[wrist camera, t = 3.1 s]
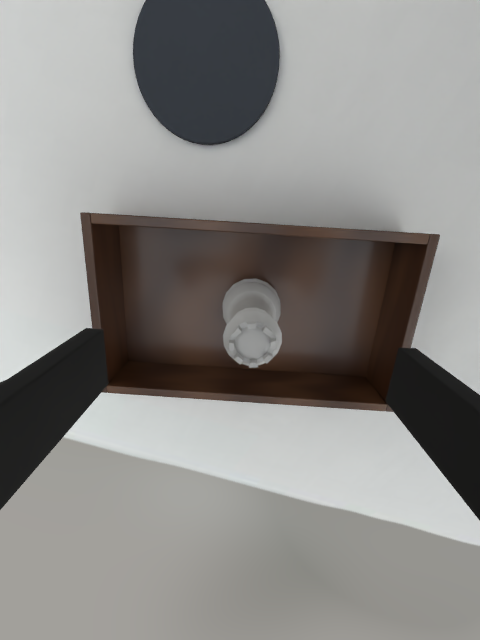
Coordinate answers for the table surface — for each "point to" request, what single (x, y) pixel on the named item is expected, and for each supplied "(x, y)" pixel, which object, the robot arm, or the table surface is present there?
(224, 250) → the tray
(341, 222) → the table surface
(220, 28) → the coaster
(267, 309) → the rook chess piece
